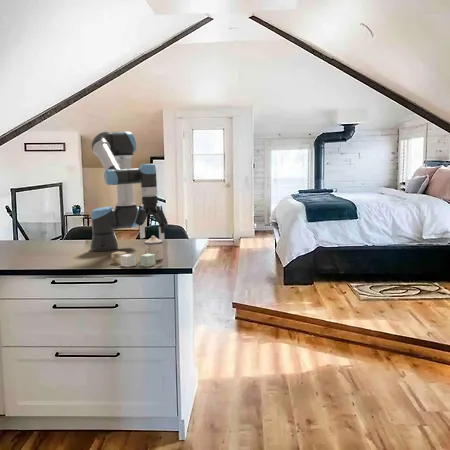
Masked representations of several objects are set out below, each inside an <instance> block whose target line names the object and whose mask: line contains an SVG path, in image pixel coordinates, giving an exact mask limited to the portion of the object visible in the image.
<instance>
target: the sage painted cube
mask: <svg viewBox="0 0 450 450" xmlns="http://www.w3.org/2000/svg"><path fill="white" fill-rule="evenodd" d="M139 260H140V261H139V262H140V266H142V267H146V268H148V267H152V266H155V265H157V264H156V261H155V254H145V253H144V254H141V255H139Z"/></svg>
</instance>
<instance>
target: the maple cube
mask: <svg viewBox="0 0 450 450" xmlns="http://www.w3.org/2000/svg"><path fill="white" fill-rule="evenodd" d="M125 254H127V252H126V251H115V252H112V253H110V255H111V264H115V263H116V265H121V255H125Z"/></svg>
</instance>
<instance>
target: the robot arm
mask: <svg viewBox="0 0 450 450" xmlns="http://www.w3.org/2000/svg"><path fill="white" fill-rule="evenodd" d="M91 150H92V152H93V154H94V155H95V156H97V159H99V162H100V163H101V165H102V167H103V169H104V183H105V184H106V185H108V186H115V185H116V190H117V191H116V192H117V193H116V194H117V203H116V204H115V208H113V206H111V205H110V206H109V205H108V206H103V207H102V206H101V207H97V208H95V209H93V210H92V211H91V213H90V214H91V216H90V217H91V228H92V239H91V242H90V248H89V249H90V251H92V252H109V251H114V250H117V249H119V244H118V241H117V238H116V236H115V230H121V229H132V228H137V227H138V232H139V238H140V239H145V238H146V232H145V231H146V229H145V221H146V219H147V217H148V216H149V215H150V216H152V217H154V220H156V222H157V223H158V237H159V238H158V239H159V240H162V241H163V240H165V232H166V231H165V230H166V228H165V227H166V226H167V225H169V224H168V220H167V218H166V215H165V213H164V211H163V206H162V205H158V202H159V201H158V200H159V199H158V185H157V183H158V182H157V168H156V164H155V163H141V164H140V166H139V167H137V168H132V161H131V160H132V158H133V157H134V153H135V152H137V142H136V138H135V135H134V133H132V132H131V131H103V132H100V133H98V134H97V135H95V136H94V138H93V139H92V142H91ZM133 184H135V185H136V184H140V187H141V188H140V189H141V196H142V197H141V203H142V204H141V205H138V206H137V203H136V202H135V201H134V191H133V189H134V188H133Z"/></svg>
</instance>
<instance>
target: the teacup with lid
mask: <svg viewBox="0 0 450 450" xmlns="http://www.w3.org/2000/svg"><path fill="white" fill-rule="evenodd" d="M163 243H164V242H163V240H159V238H158V237H156V236H155V235H151V237H150V238H148V239H147V240H145V241H144V250H145V251H144V252H145V253H144V254H155V261H161V260H163V259H164V249H163V248H164V247H163Z"/></svg>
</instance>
